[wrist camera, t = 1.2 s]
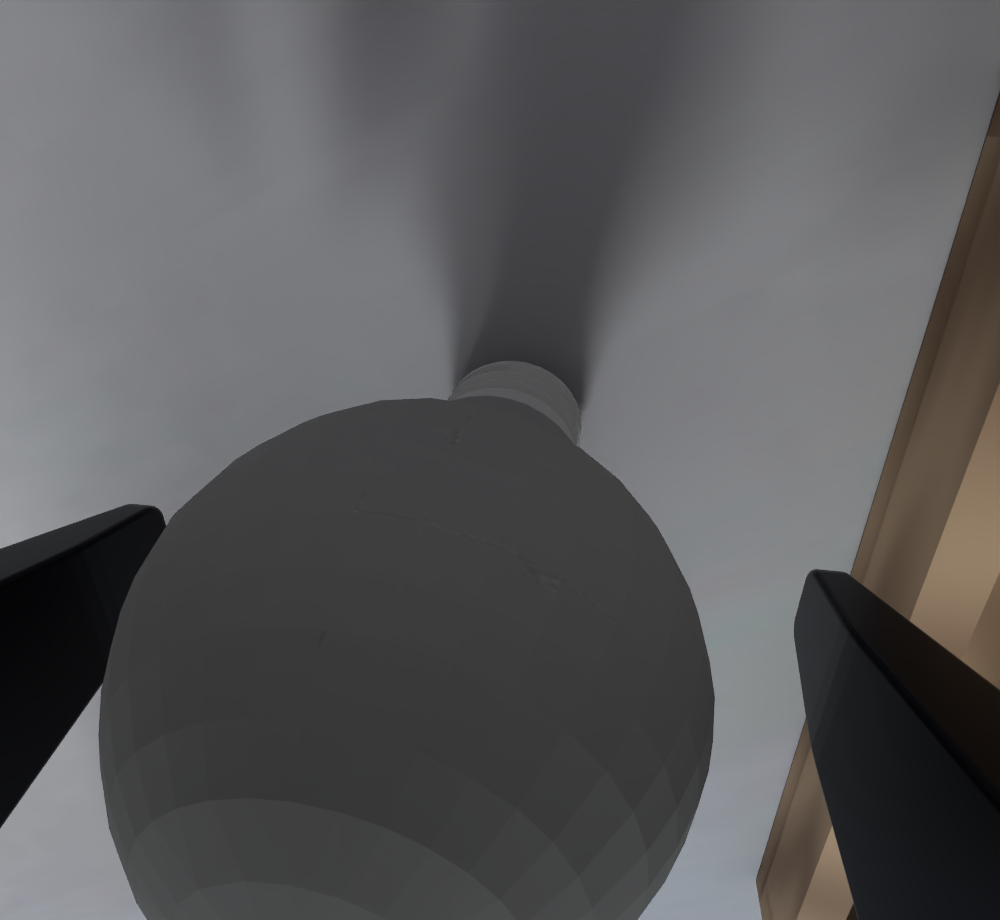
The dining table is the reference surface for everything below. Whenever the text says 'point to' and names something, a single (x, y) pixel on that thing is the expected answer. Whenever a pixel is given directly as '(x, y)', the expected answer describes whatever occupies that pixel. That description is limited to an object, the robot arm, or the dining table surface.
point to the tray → (921, 531)
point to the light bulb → (408, 676)
